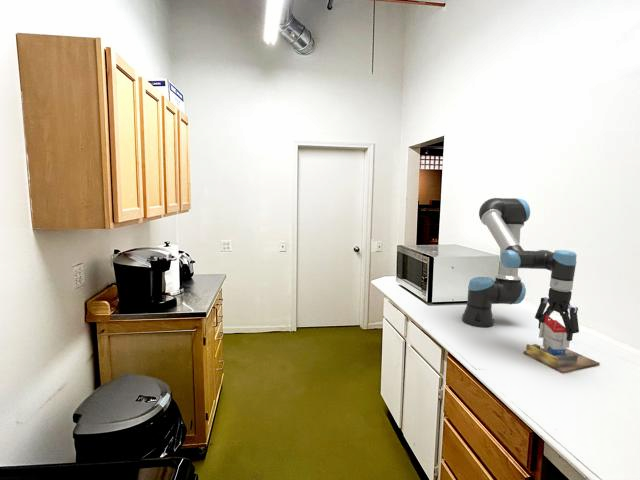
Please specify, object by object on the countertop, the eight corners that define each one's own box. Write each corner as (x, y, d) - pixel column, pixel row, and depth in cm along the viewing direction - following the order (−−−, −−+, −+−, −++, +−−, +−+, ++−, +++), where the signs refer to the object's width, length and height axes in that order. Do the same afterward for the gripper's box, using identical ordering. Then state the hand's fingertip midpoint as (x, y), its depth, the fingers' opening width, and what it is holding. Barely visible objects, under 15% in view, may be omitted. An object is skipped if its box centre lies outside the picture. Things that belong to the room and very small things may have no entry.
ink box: (565, 356, 141) (568, 322, 138) (552, 356, 142) (555, 322, 139) (554, 345, 149) (557, 313, 146) (541, 345, 150) (544, 313, 147)
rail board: (523, 353, 150) (524, 343, 149) (558, 347, 157) (559, 337, 157) (562, 373, 134) (564, 362, 134) (599, 365, 142) (601, 354, 141)
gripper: (528, 282, 150) (522, 332, 153) (582, 298, 130) (574, 355, 133) (541, 281, 153) (535, 330, 156) (596, 296, 132) (587, 353, 136)
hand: (553, 342), depth 145 cm, fingers closed on ink box, 9 cm apart
